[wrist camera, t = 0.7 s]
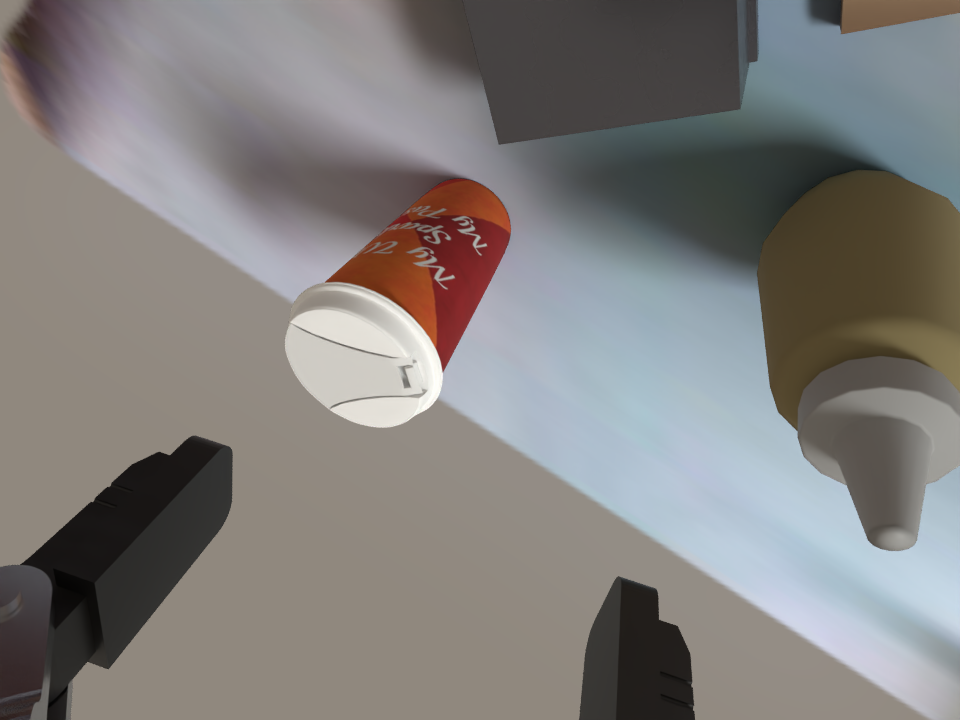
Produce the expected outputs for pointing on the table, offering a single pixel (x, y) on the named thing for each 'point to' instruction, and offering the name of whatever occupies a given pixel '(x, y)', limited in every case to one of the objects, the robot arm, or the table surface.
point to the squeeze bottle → (868, 340)
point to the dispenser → (609, 61)
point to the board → (891, 12)
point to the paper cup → (399, 307)
